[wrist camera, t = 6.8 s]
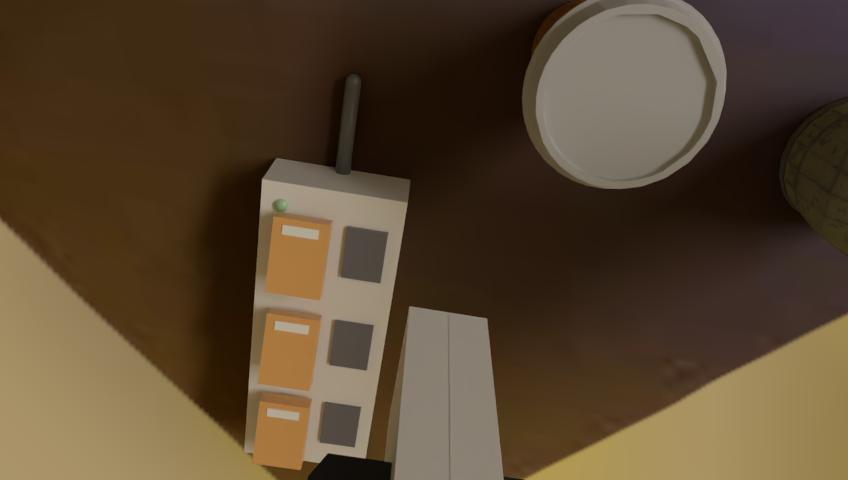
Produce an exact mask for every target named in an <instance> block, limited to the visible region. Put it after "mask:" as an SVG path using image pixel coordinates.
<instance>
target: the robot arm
mask: <svg viewBox="0 0 848 480" xmlns="http://www.w3.org/2000/svg"><path fill="white" fill-rule="evenodd" d="M308 480H522V479H516V478H509V477H503V469H502V459H501V449H500V440H499V430H498V420H497V410H496V401H495V391H494V381H493V371H492V362H491V352H490V342H489V333H488V323H487V318H481V317H474V316H468V315H462V314H455V313H449V312H443V311H436V310H430V309H423V308H417V307H411V306H409V312H408V317H407V323H406V328H405V334H404V339H403V345H402V350H401V356H400V361H399V367H398V372H397V377H396V383H395V388H394V394H393V399H392V405H391V410H390V416H389V423H388V432H387V441H386V451H385V460H384V461H378V460H371V459H365V458H358V457H351V456H344V455H337V454H330V453H328V454H327V455H326V456H325V457H324V458H323V460H322V461H321V462H320V463H319V464H318V465H317V467H316V468H315V469H314V470H313V471H312V473H311V474H310V475H309V476H308Z"/></svg>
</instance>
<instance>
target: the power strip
mask: <svg viewBox="0 0 848 480" xmlns="http://www.w3.org/2000/svg"><path fill="white" fill-rule="evenodd" d="M360 91H361V78H360V77H359V76H358V75H357V74H350V75H348V76H347V78H346V80H345V88H344V97H343V106H342V115H341V123H340V132H339V141H338V150H337V159H336V167H329V166H323V165H317V164H311V163H304V162H298V161H292V160H286V159H280V158H276V159H275V161H274V162H273V164H272V165H271V167H270V168H269V170H268V171H267V173H266V174H265V176H264V177H263V179H262V190H261V205H260V220H259V235H258V250H257V266H256V281H255V296H254V311H253V326H252V341H251V357H250V372H249V387H248V402H247V417H246V432H245V448H244V452H247V453H254V444H255V436H256V427H257V419H258V411H259V402H260V399H261V397H262V395H263V393H264V392H267V393H274V394H281V395H288V396H294V397H301V398H308V399H312V403H311V411H310V418H309V425H308V432H307V439H306V447H305V454H304V460H303V461H310V462H317V463H320V462H321V461H322V460H323V458H324V457H325V456H326V455H327V454H328V453H330V454H337V455H344V456H351V457H358V458H366V452H367V446H368V440H369V434H370V428H371V422H372V416H373V409H374V403H375V397H376V391H377V385H378V379H379V373H380V367H381V361H382V355H383V349H384V343H385V337H386V331H387V325H388V319H389V313H390V307H391V301H392V295H393V289H394V283H395V277H396V271H397V265H398V259H399V253H400V247H401V240H402V234H403V228H404V222H405V216H406V210H407V204H408V197H409V189H410V181H411V180H409V179H403V178H396V177H390V176H384V175H378V174H372V173H366V172H360V171H354V170H351V163H352V155H353V147H354V139H355V131H356V123H357V115H358V107H359V99H360ZM277 212H283V213H289V214H295V215H302V216H308V217H314V218H320V219H327V220H333V223H332V230H331V238H330V245H329V252H328V260H327V267H326V274H325V281H324V289H323V294H322V297H321V299H320V300H313V299H307V298H300V297H294V296H287V295H281V294H274V293H268V292H265V286H266V277H267V268H268V260H269V251H270V243H271V234H272V226H273V217H274V215H275V214H276V213H277ZM271 308H276V309H283V310H289V311H296V312H302V313H309V314H315V315H322V320H321V327H320V334H319V341H318V347H317V354H316V361H315V368H314V375H313V382H312V385H311V388H310V391H304V390H297V389H290V388H284V387H277V386H270V385H263V384H258V377H259V369H260V362H261V354H262V347H263V339H264V332H265V324H266V317H267V313H268V311H269V310H270V309H271Z"/></svg>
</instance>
